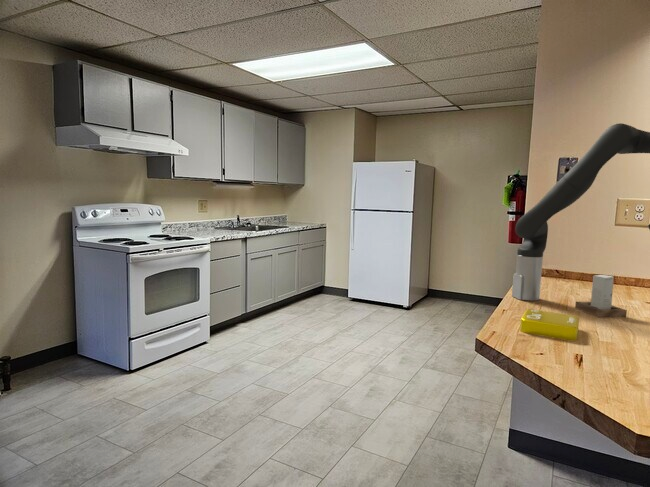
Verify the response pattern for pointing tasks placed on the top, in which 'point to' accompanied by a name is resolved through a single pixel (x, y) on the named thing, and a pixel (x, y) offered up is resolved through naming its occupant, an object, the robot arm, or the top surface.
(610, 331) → the top surface
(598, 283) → the skincare box
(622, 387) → the top surface
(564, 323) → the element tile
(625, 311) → the seat block
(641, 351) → the top surface
